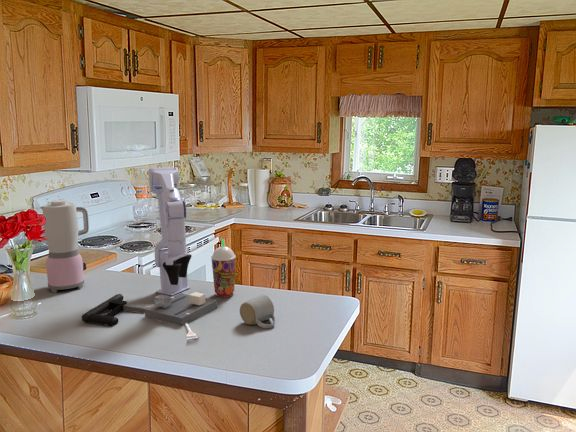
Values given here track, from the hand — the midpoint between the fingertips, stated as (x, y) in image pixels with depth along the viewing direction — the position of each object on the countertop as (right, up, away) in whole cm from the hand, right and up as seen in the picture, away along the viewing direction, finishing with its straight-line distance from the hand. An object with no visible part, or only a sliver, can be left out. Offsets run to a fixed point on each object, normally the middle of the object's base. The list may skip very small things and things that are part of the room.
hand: (178, 280), depth 165 cm
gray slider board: (+1, -10, -1) cm, 10 cm away
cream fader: (+6, -7, -1) cm, 9 cm away
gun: (-19, -11, -1) cm, 22 cm away
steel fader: (-4, -7, -3) cm, 9 cm away
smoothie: (+13, -7, +15) cm, 21 cm away
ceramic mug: (+27, -12, -9) cm, 31 cm away
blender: (-45, -6, +25) cm, 52 cm away
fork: (+6, -13, -14) cm, 20 cm away
